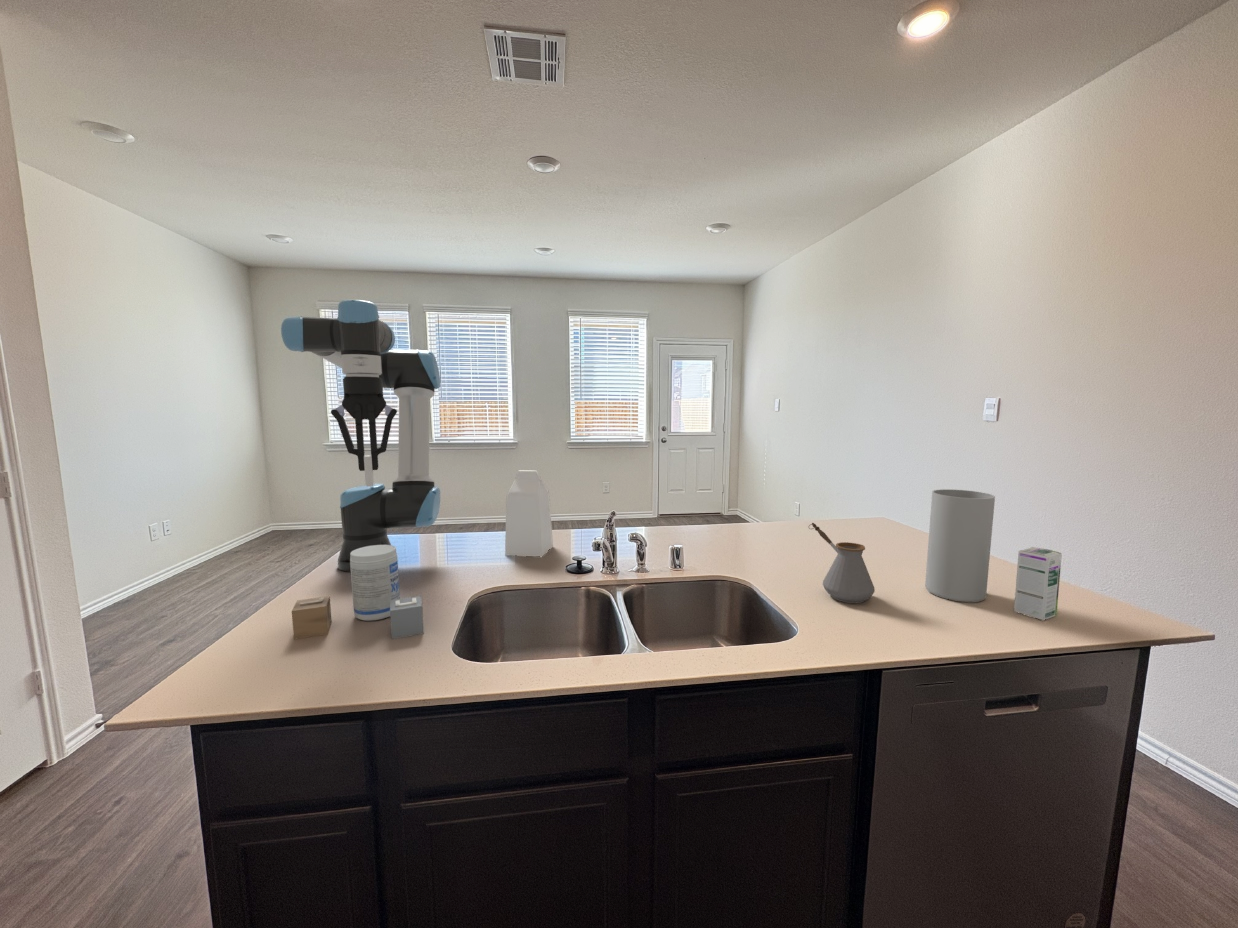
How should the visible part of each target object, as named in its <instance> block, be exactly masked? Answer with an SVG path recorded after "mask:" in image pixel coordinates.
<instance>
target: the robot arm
mask: <svg viewBox="0 0 1238 928" xmlns="http://www.w3.org/2000/svg"><path fill="white" fill-rule="evenodd" d="M337 307H338V308H337V317H318V316H317V317H316V316H315V317H314V316H312V317H311V316H288V317H285V318H284V319H283V320H282V323H281V327H280V331H281V338H282V342H283V344H284V346H285V347H286V349H288V350H289V351H293V352H301V353H304V352H306V353H307V352H311V353H312V354H315V355H317V357H320V358H321V359H324V360H326V361H327V362H330V363H331V364H333V365H335V366H337V367H338V368H340V369H341V371H342V374H343V375H344V377H343V378H342V385H343V387H342V388H343V399H342V401H341V405H339V406H337V407H336V408H334V409H331V410H330V414H331V415H332V416H333V418H335V420H336V421H337V425H338V427H339V430H340V432H341V435H342V439H343V441H344V445H345V447H346V450H347V452H348V454H350V455H351V454H352V455H355V456H357V462H358V470H359V472H364V479H365V480H364V481H365V484H364V485H359V486H355V487H351V488H347V489H345V490H344V491H342V492H341V494H340V499H339V500H340V506H339V509H340V518H341V529H342V544H341V546H340V549H339V550H340V551H339V554H338V558H337V568H338V569H339V570H340V571H343V572H349V573H351V568H350V553H351V552H352V551H353V550H356V549H358V548H362V547H366V546H373V545H392V544H391V541H390V539H389V536H388V529H402V528H403V529H404V528H405V529H406V528H417V529H418V528H421V527H422V528H424V527H430V526H432V525H434V524H435V522H436V521H437V519H438V516H439V511H440V506H441V505H440V504H441V489H440V488H439V487H437V486H435V480H433V479H432V477H430V400H431V398H433V397H434V396H435V393H436V392H435V390H437V389H440V388H441V377H440V371H439V365H438V362H437V358H436V356H435V354H434V353H433V352H432V351H431V350H422V349H393V347H394V346H395V343H396V337H395V336H396V335H395V333H394V330H393V329H392V328H391V327H390V326H389V324H388V323H386V322H385V321H382V320H380V315H379V312H378V311H379V309H378V306H377V304H375V303H374V302H371V301H368V300H361V299H345V300H342V301H339V303H338V304H337ZM384 389H393V394H394V395H395V396H396V397H398V411H397V409H396V408H393V407H391V406H390V405H387V401H386V400H385V398H384ZM383 410H384V411H385V412H384V415H385V416H386V418H385V422H384V423H385V424H384V427H383V433H382V438H381V442H380V447H378V441H377V440H378V438H377V424H376V423H377V422H376V419H378V417H379V416H380V414H382V412H383ZM345 411H346V412H347V413H348V414H349V415H350V417H351V418H352V419H354V422H355V423H354V425H355V435H356V437H355V438H356V448H355V445H354V443H353V440H352V437H351V434H350V431H349V429H348V425H347V423H346V419H345V417H344V416H345V414H346V413H345ZM397 413H398V449H397V450H398V451H397V453H398V456H397V459H398V460H397V461H398V462H397V463H398V465H397V467H398V469H397V477H396V478H395V479H393V481H392V485H391V487H392V488H386V486H385V484H384V483H375V479H374V471H378V469H379V455H380V454H382V453H385V452H387V448H388V443H389V437H390V434H391V427H392V423H393V419H394V418H395V416H396V415H397ZM364 420H368V427H369V428H368V429H369V431H368V432H369V445H370V454H367V455H365V440H364V438H365V437H364V424H363V422H364Z"/></svg>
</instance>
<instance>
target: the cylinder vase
mask: <svg viewBox="0 0 1238 928" xmlns="http://www.w3.org/2000/svg"><path fill="white" fill-rule="evenodd" d="M995 501H996V495H994V494H992V493H991V494H990V493H986V492H982V491H974V490H964V489H943V488H942V489H934V490H932V491H931V502H930V503H931V504H930V515H929V531H928V541H927V542H928V543H927V544H928V545H927V557H926V568H925V569H926V572H925V584H924V587H925V589H926V590H927V591H928V592H929V593H930V594H932V595H934V596H937V597H938V596H939V598H942V599H945V600H948V599H949V601H954V602H959V601H961V602H960V603H978V602H982V601H983V600H985V599H986V598H987V589H988V581H989V579H988V578H989V570H990V569H989V567H990V559H991V558H990V557H991V546H992V535H993V524H994V523H993V522H994V513H995V512H994V511H995Z"/></svg>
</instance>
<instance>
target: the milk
mask: <svg viewBox="0 0 1238 928" xmlns="http://www.w3.org/2000/svg"><path fill="white" fill-rule="evenodd" d="M548 489H549V488H548V487H547V486H546V484H545V483H544V481H543V480H542V479H541V476H540V473H539V471H538V470H536V469H535V470H532V469H531V470H529V469H528V470H525V469H524V470H523V469H519V470H517V472H516V475H515V477H514V480H513V482H512V484H511V486H510V488H509V489H508V492H507V495H506V499H505V500H506V501H505V539H504V540H505V544H504V545H505V547H504V556H506V555H517V556H516V557H526V556H543V555H544V554H545V553H546V552H547V551H548V550H549V549H550V550H552V549H553V547H554V544H553V542H554V541H553V528H552V527H553V526H552V514H551V513H552V511H551V502H550V501H551V499H550V492H549V490H548ZM552 546H553V547H552ZM550 550H549V551H550ZM549 551H548V552H549ZM548 552H547V553H548ZM547 553H546V554H547ZM546 554H545V555H546ZM545 555H544V556H545ZM544 556H543V557H544Z"/></svg>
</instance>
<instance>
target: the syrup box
mask: <svg viewBox="0 0 1238 928" xmlns="http://www.w3.org/2000/svg"><path fill="white" fill-rule="evenodd" d="M1062 554H1063V553H1061V552H1059V551H1057V550H1056V551H1055V550H1052V549H1047V548H1042V547H1035V546H1031V547H1030V548H1029V547H1028V548H1025V549H1020V550H1018V556H1017V569H1016V578H1015V579H1016V580H1015V593H1014V596H1015V597H1014V607H1013V609H1014V610H1013V611H1014V612H1015V611H1016V612H1015V613H1017V612H1019V613H1018V614H1020V613H1022V614H1025V615H1029V616H1031V617H1030V618H1032V617H1035V618H1038V619H1042V620H1045V619H1046V620H1048V619H1049V620H1050V619H1051V618H1054V617H1056V616H1057V615H1058V603H1059V592H1060V589H1059V588H1060V579H1061V568H1062V566H1061V565H1062ZM1022 614H1021V615H1022ZM1025 615H1024V616H1025ZM1035 618H1034V619H1035ZM1038 619H1037V620H1038ZM1042 620H1041V621H1042ZM1046 620H1045V621H1046Z"/></svg>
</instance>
